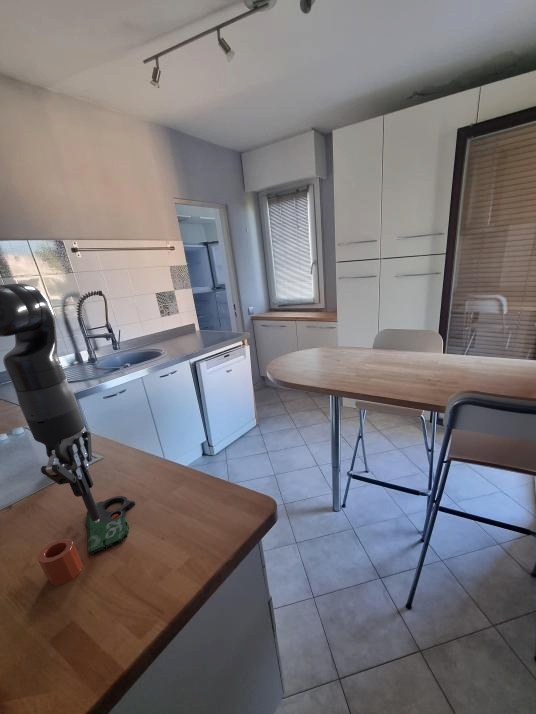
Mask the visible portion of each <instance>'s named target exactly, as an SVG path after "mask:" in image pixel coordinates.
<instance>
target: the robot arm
mask: <svg viewBox="0 0 536 714" xmlns="http://www.w3.org/2000/svg"><path fill="white" fill-rule="evenodd" d="M12 336H14V343H15V345H14V347H13V348H12V349H11V350H10V351H8V352H7V353H5V355H4V356H3V359H2V361H3V362H2V363H3V366H4V368H5V369H4V370H5V371H6V373H7V375H8V378H9V380H10V383H11V385H12V387H13V389H14V392H15V394H16V395H15V396H16V398H17V403H18V405H19V408H20V410H21V412H22V414H23V417H24V419H25V421H26V424H27V426H28V428H29V431H30V433H31V435H32V436H33V437H32V438H33V439H34V441H36V442H37V443H41V444H42V445H44V446H45V453H46V456H47V457H48V462H47V464H46V465H42V466H41V467H40V472H41V474H43V475H44V476H46V477H47V478H48V479H50V480H52V481H53V482H55V483H56V484H58V485H59V486H60V485H65V484H66V485H67V484H69V486H70V489H71V491H72V493H73V495H74V497H77V498H78V497H79V498H80V497H82V496H85V495H87V494H88V492H89V491H88V488H87V486H86V483H85V481H84V478H83V477H82V474H81V471H80V468H79V467H81V468H82V471H83V473H84V476H85V478H86V481H87V483H88V486H89V488H90V489H92V488H93V486H94V481H93V479H92V477H91V474H90V471H89V469H90V462H92V461H93V449H92V433H91V431H90V430H87V431H85V430H84V429H85V426H86V422H85V420H84V417H83V414H82V412H81V409H80V407H79V403H78V401H77V398H76V395H75V393H74V390H73V388H72V386H71V385H70V383H69V381H68V379H67V376H66V373H65V370H64V368H63V365H62V363H61V360H60V359H59V355H58V338H57V325H56V318H55V314H54V310H53V307H52V305H51V303H50V301H49V300H48V298H47V297H46V296H45V294H44V293H43V292H42V291H41V290H39V289H38V288H36V287H35V286H33V285H30V284H27V283H18V282H17V283H8V284H0V338H5V337H12ZM83 430H84V431H83ZM71 470H73V472H74V474H72V472H70V471H71Z"/></svg>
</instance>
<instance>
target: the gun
mask: <svg viewBox="0 0 536 714" xmlns="http://www.w3.org/2000/svg"><path fill="white" fill-rule="evenodd" d="M118 503H119V504H121V505H120V506H119V507H118V508H116V509H115V510H112V511H107V508H109V507H110V506H111V505H114V504H118ZM95 504H96V506H97V509H98V511H99V514H100V518H99V522H97V523H95V521H92V520H91V518H90V516H89V513H88V511H86V519H85V528H86V529H87V552H88V555H90V556H95V555H96V553H98V552H100V551H103V552H106V551H105V548H106V550H108V547H110V546H111V547H112V548H113V547H115V544H116V543H119V545H121V544H122V543H123V539H124V538H126V537H127V538H128V534H129V533H130V531H129V530H130V526H129V522H128V521H127V515H126V512H128V511H130V510H131V509H132V508H133V507H134V506H135V505H136V501H135V500H129V499H128V497H126V496H123V495H117V496H112V497H110V498H107V499H105V500H102V501H98V502H95Z"/></svg>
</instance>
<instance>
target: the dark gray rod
mask: <svg viewBox="0 0 536 714" xmlns="http://www.w3.org/2000/svg"><path fill="white" fill-rule="evenodd" d="M79 468H80V471H81V474H82V477H83V478H84V481H85V483H86V486H87V488H88V491H89V492H88V494H87V495H85V496H81V498H82V501H83V503H84V506H85V508H86V510H87V511H88V513H89V516H90V518H91V520H92V521H95V523H97V522H99V518H100V514H99V511H98V509H97V506H96V501H95V499H94V496H93V493H92V491H91V488H89V486H88V483H87V481H86V478H85V476H84V473H83V471H82V468H81V467H79ZM70 471H71V473H72V474H74V472H73V470H70ZM87 511H86V512H87Z"/></svg>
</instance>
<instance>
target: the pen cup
mask: <svg viewBox="0 0 536 714" xmlns="http://www.w3.org/2000/svg"><path fill="white" fill-rule="evenodd" d="M37 562H38V564H39V566H40V567H41V569H42V571H43V573H44V575H45V577H46V579H47V580H48V583H49V584H51V585H52V586H60V585H63V584H67V583H69V582H70V581H72V580H73V579H75V578H76V577H77V576H78V575H79V574H80V573H81V571H82V569H83V560H82V559H81V556H80V554H79V551H78V550H77V548H76V546H75V543H74V541H73V539H71V538H67V537H66V538H61V539H60V538H59V539H57V540H55V541H53V542H50V543H49V544H47V545H46V546H44V548H41V550H40V552H39V553H38V555H37Z"/></svg>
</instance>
